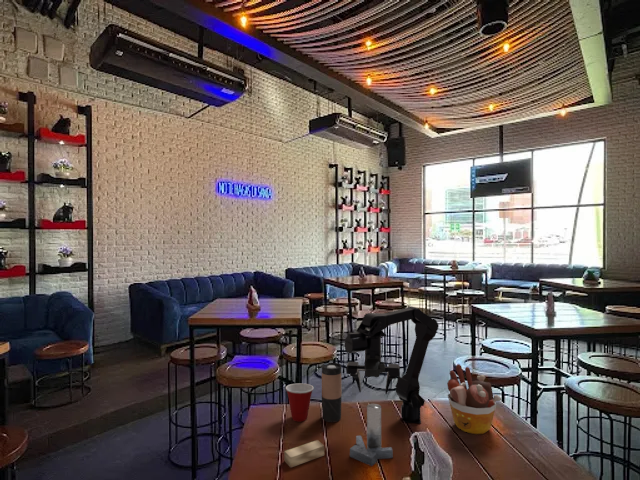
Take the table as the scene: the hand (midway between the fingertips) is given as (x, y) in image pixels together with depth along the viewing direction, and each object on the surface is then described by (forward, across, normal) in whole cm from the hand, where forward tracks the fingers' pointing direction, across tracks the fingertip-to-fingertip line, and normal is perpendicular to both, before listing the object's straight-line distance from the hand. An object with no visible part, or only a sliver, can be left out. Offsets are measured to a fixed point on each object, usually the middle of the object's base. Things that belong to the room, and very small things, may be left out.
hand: (373, 392), depth 134 cm
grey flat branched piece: (+13, -1, -17) cm, 21 cm away
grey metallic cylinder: (+13, +1, -14) cm, 19 cm away
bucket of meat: (+13, +35, +8) cm, 38 cm away
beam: (+13, -20, -22) cm, 33 cm away
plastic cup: (+13, -28, +4) cm, 31 cm away
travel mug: (+13, -16, +6) cm, 22 cm away
